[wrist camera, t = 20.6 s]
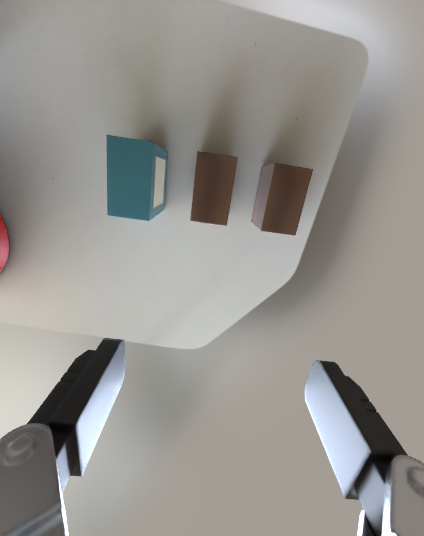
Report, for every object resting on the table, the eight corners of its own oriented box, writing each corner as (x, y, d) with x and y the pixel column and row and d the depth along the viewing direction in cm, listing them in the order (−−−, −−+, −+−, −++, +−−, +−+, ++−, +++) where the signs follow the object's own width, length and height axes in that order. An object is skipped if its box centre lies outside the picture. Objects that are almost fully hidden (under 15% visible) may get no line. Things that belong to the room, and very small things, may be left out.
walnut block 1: (232, 161, 34) (238, 157, 28) (223, 217, 37) (226, 226, 30) (199, 156, 34) (197, 151, 27) (193, 213, 37) (190, 221, 30)
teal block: (168, 151, 34) (153, 142, 24) (164, 209, 36) (149, 221, 27) (134, 146, 33) (106, 134, 24) (133, 205, 36) (107, 215, 27)
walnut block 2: (293, 170, 35) (313, 169, 28) (280, 225, 38) (295, 235, 31) (261, 165, 35) (274, 163, 28) (251, 221, 37) (260, 230, 31)
